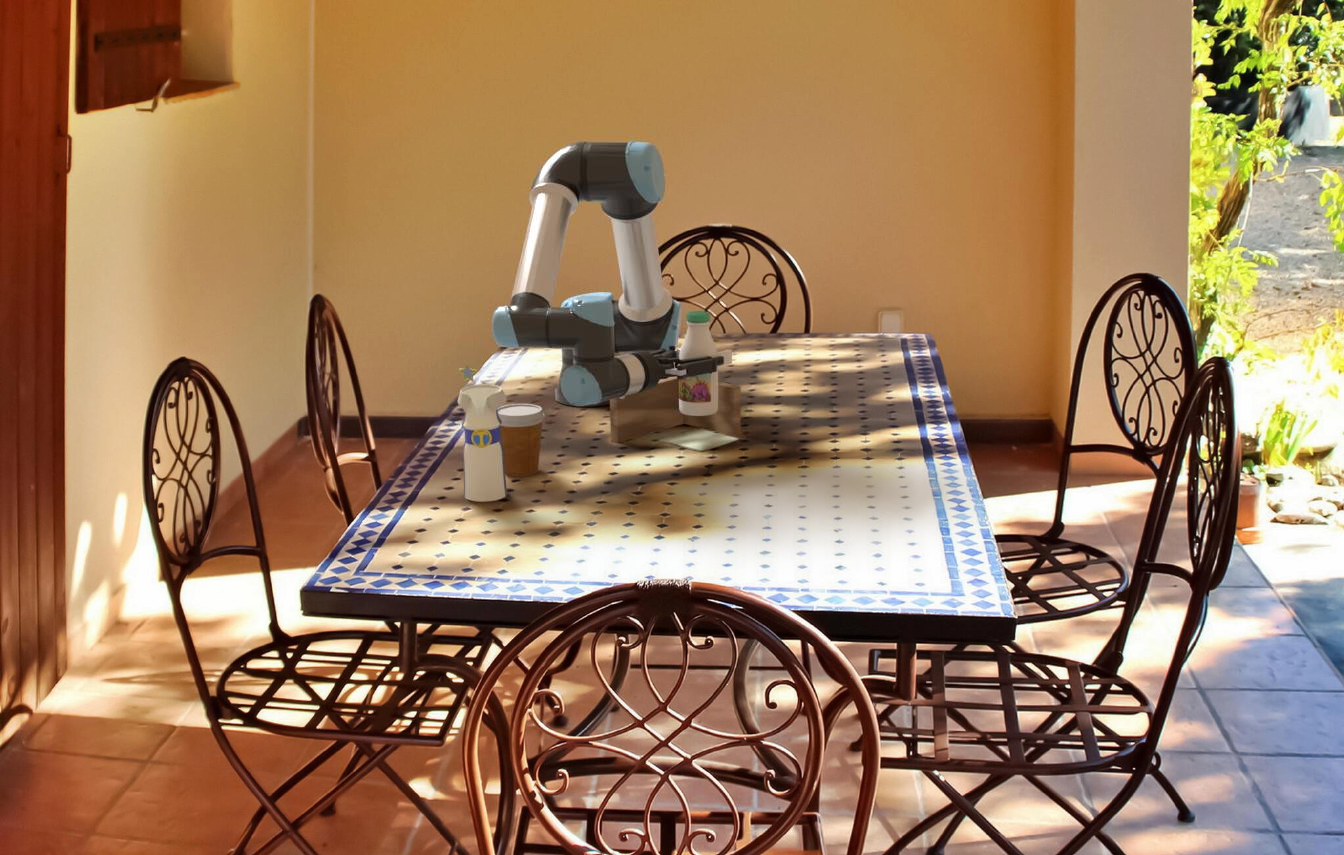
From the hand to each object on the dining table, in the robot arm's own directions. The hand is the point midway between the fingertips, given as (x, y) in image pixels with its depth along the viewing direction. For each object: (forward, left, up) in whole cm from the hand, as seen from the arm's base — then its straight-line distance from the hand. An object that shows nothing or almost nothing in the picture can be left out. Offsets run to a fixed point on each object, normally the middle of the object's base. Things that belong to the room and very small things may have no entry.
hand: (715, 353), depth 285 cm
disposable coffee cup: (-11, -42, -17) cm, 46 cm away
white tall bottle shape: (-5, -55, -17) cm, 58 cm away
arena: (-4, -6, -17) cm, 19 cm away
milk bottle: (0, -5, -11) cm, 12 cm away
